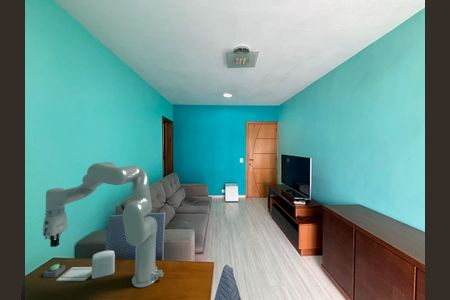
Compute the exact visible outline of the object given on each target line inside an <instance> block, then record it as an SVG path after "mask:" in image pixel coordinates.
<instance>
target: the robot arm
mask: <svg viewBox="0 0 450 300" xmlns="http://www.w3.org/2000/svg"><path fill="white" fill-rule="evenodd" d="M86 170H87V171H86V174H85V175H83V177H82V183H81V184H80V185H78V186H76V187H75V186H74V187H70V188H66V189H64V188H63V187H58V188H55V187H54V188H50V189H48V190H46V193H45V213H44V216H45V217H44V221H43V226H42V235H43V236H44V238H43V239H44V240H49V241H50V245H49V246H50V247H51V248H52V247H53V248H56V247H58V246H59V245H60V237H61V235H62V233H63V232H64V231H66V230H67V228H68V216H67V213H66V211H65V209H66V205H68V204H71V203H73V202H74V203H75V202H78V201H79V200H83V199H85V198H87V197H88V196H90V195H91V194H93V193H94V192H95V190H96V189H97V188H98V187H99V186H101V185H102V184H108V185H112V186H123V185H126V184H128V183H129V184H130V183H132V186H131V195H132V196H131V197H132V201H130V202H129V203H127V204H126V205H125V207H124V208H123V211H122V220H123V222H122V223H123V227H124V228H123V229H124V233H125V234H124V235H125V239H126V241H127V243H128V244H129V245H130V246H133V247H135V271H134V272H135V274H134V275H133V277H132V279H131V283H132V285H133V287H136V288H145V287H149V286H151V285H152V284H154V283H155V282H156V281H157V280H158V278H160V277H161V278H162V277H163V276H164V272H163V269H158V266H157V265H156V245H157V243H156V242H157V231H158V223H157V220H156V218H155V217H153V216H150V215H149V214H150V213H151V211H152V210H153V204H152V203H153V202H152V199H151V198H152V197H151V196H152V195H151V191H150V183H149V177H148V173H147V171H145V170H144V169H143V168H142V167H140V166H138V165H137V166H136V165H127V166H121V167H118V166H117V165H116V164H115V163H114V162H109V161H107V162H106V161H105V162H95V163H93V164H91V165H90V166H89V167H88V168H87V169H86ZM147 215H148V216H147Z"/></svg>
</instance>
